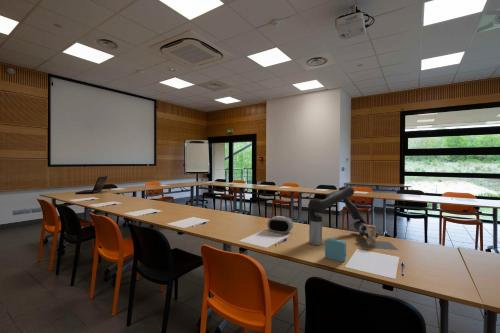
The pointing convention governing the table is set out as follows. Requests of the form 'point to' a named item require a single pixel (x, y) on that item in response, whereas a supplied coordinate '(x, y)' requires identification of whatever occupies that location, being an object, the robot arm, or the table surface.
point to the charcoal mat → (377, 245)
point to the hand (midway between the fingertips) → (372, 236)
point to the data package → (335, 249)
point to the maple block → (371, 235)
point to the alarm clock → (280, 224)
